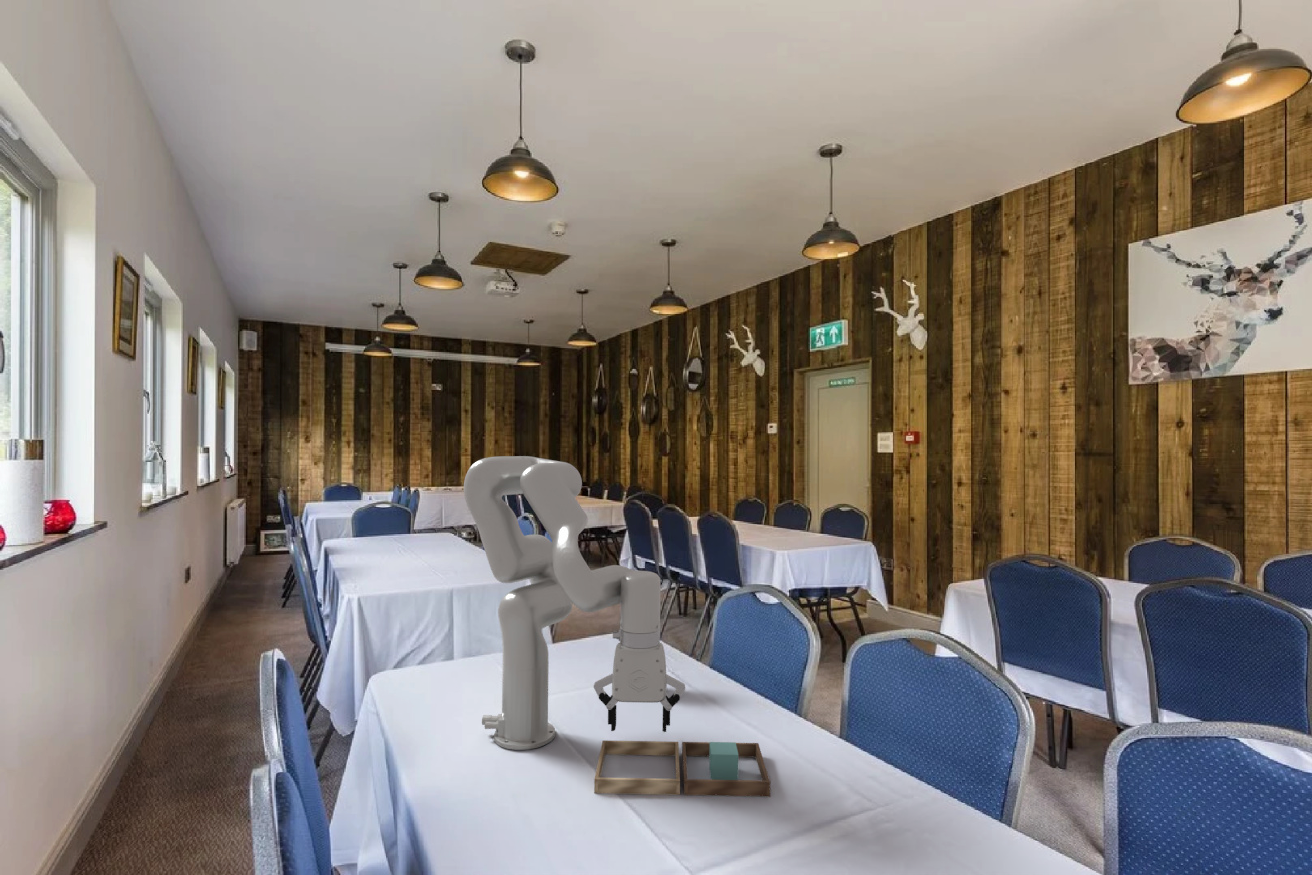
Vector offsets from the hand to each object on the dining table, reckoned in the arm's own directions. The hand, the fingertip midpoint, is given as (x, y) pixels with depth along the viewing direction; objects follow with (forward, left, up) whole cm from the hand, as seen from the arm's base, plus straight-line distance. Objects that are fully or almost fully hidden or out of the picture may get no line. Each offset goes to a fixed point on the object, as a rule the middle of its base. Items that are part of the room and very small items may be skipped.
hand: (639, 728), depth 125 cm
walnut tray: (+16, 0, -8) cm, 18 cm away
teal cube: (+16, 0, -8) cm, 18 cm away
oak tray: (0, 0, -8) cm, 8 cm away
